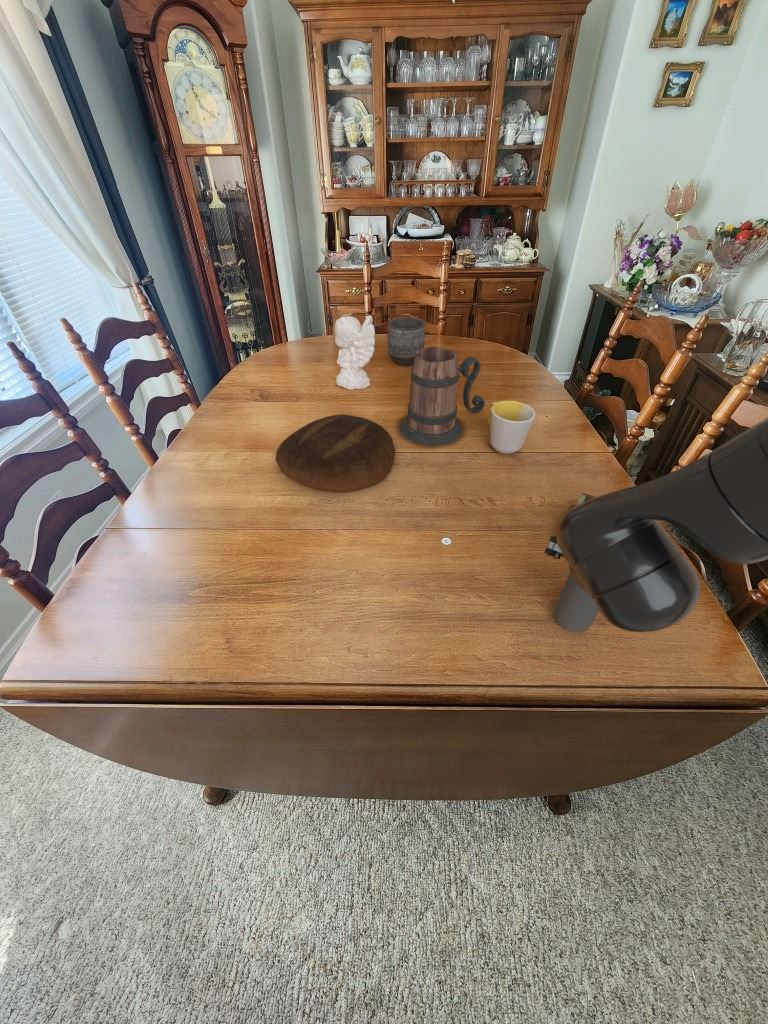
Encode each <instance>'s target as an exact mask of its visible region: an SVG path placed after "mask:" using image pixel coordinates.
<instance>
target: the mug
mask: <svg viewBox="0 0 768 1024" xmlns="http://www.w3.org/2000/svg"><path fill="white" fill-rule="evenodd" d="M535 418H536V410H535V409H534V408H533V407H532V406H530V405H529V404H527V403H524V402H521V401H516V400H502V401H493V402H491V403H490V406H489V410H488V417H487V422H488V426H489V427H490V439H489V440H490V445H491V446H492V448H493V449H494V450H495V451H496V452H498V453H500V454H502V455H503V454H504V455H511V454H514V453H516V452H518V451H519V450H520V449H522V447H523V445H524V443H525V441H526V438H527V436H528V434H529V432H530V429H531V427H532V425H533V423H534V420H535Z"/></svg>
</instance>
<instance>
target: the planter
mask: <svg viewBox="0 0 768 1024" xmlns="http://www.w3.org/2000/svg"><path fill="white" fill-rule="evenodd" d="M425 335H426V321H425V320H423V319H422V318H419V317H414V316H398V317H395V318H392V319H390V320H388V322H387V351H388V355H389V356H390V358H391V360H392V362H393V363H394V364H396V365H398V366H401V367H410V366H411V367H412V366H413V363H414V358H415V354H416V353H417V352H418V351H419V350H420V349H422V348H425V337H426V336H425Z"/></svg>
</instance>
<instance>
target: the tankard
mask: <svg viewBox="0 0 768 1024" xmlns="http://www.w3.org/2000/svg"><path fill="white" fill-rule="evenodd" d="M472 364H473V367H472V369H471V368H470V366H471V365H472ZM481 366H482V365H481V362H480V360H479V359H477V358H476V357H475V356H468V357H466V358H465V359H464V360H462V362H461V363H460V364H459V355H458V353H457V352H455V351H454V350H452V349H448V348H443V347H439V346H426V347H425V346H424V348H422V349H420V350H419V351H418V352H417V353H416V354H415V358H414V363H413V365H412V366H411V368H410V387H409V399H408V400H409V401H408V403H407V411H406V412H407V415H405V418H404V419H403V420H401V422H400V424H399V431H400V434H401V435H402V436H403V437H404V438H405V439H407V440H408V441H410V442H412V443H416V444H419V445H424V446H441V445H442V446H443V445H447V444H451V443H452V442H455V441H457V440H458V439H459V438H460V437H461V436H462V434H463V426H462V424H461V423H460V421H459V420H458V418H457V415H458V404H457V403H458V388H459V380H460V376H461V375H462V376H463V377H464V378H466V380H465V383H464V386H463V391H462V402H463V405H464V407H465V409H466V410H467V411H468V412H470V413H471V414H473V415H474V414H475V415H476V414H479V413H480V412H481V411H482V410H483V409H484V407H485V405H486V400H485V399H484V398H483V397H482V396H481V395H475V396H473V397H472V399H471V402H472V403H471V404H472V405H473V406H472V407H471V405H470V394H471V390H472V387H473V384H474V383H475V382H476V379H477V378H478V376H479V374H480V371H481V368H482V367H481ZM470 369H471V371H470ZM460 374H461V375H460Z"/></svg>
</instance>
